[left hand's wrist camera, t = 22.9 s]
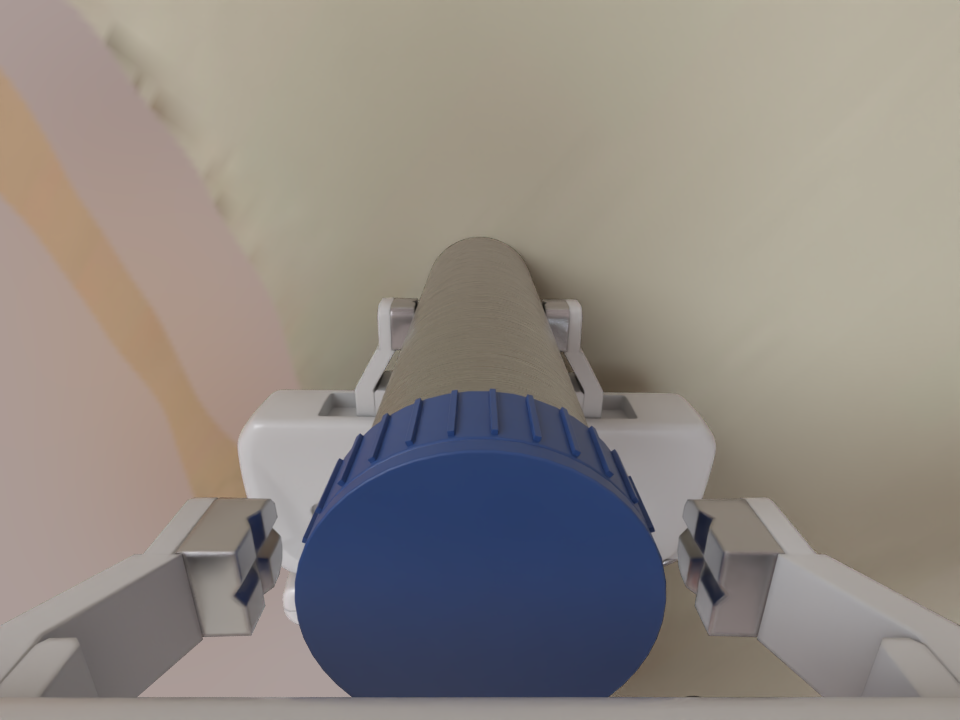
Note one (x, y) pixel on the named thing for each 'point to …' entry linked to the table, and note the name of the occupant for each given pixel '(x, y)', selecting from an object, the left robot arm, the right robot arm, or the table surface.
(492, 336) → the jar
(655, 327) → the table surface
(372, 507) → the lid
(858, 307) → the table surface
